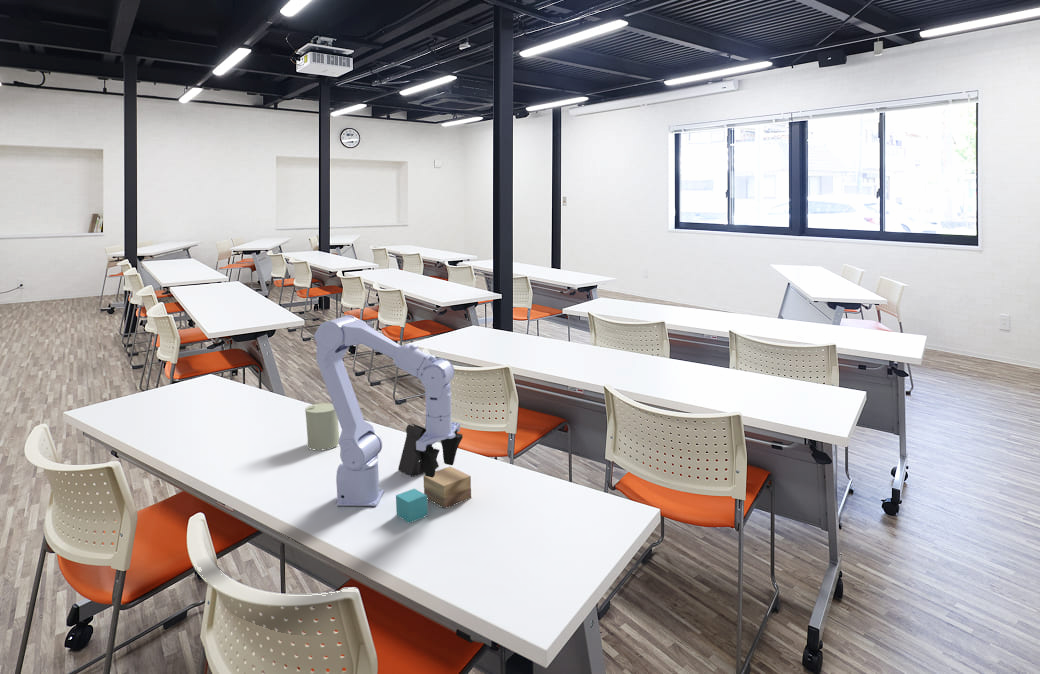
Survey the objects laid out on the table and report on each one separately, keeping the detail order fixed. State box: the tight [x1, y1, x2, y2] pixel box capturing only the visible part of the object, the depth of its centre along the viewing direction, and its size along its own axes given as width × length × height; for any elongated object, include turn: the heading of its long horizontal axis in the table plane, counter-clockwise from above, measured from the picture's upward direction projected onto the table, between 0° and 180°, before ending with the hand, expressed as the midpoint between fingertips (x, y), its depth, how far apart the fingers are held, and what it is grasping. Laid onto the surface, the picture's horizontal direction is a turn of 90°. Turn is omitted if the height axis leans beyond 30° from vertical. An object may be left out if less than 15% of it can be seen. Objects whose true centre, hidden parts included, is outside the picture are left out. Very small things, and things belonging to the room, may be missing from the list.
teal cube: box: [395, 488, 429, 524], centre depth 140 cm, size 5×5×5 cm
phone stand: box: [397, 423, 440, 477], centre depth 165 cm, size 9×6×12 cm, turn 135°
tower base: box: [423, 487, 472, 509], centre depth 149 cm, size 8×8×3 cm
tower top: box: [422, 465, 472, 498], centre depth 148 cm, size 8×8×3 cm
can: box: [304, 402, 340, 451], centre depth 182 cm, size 9×9×12 cm
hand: (439, 470), depth 142 cm, fingers open, 7 cm apart
